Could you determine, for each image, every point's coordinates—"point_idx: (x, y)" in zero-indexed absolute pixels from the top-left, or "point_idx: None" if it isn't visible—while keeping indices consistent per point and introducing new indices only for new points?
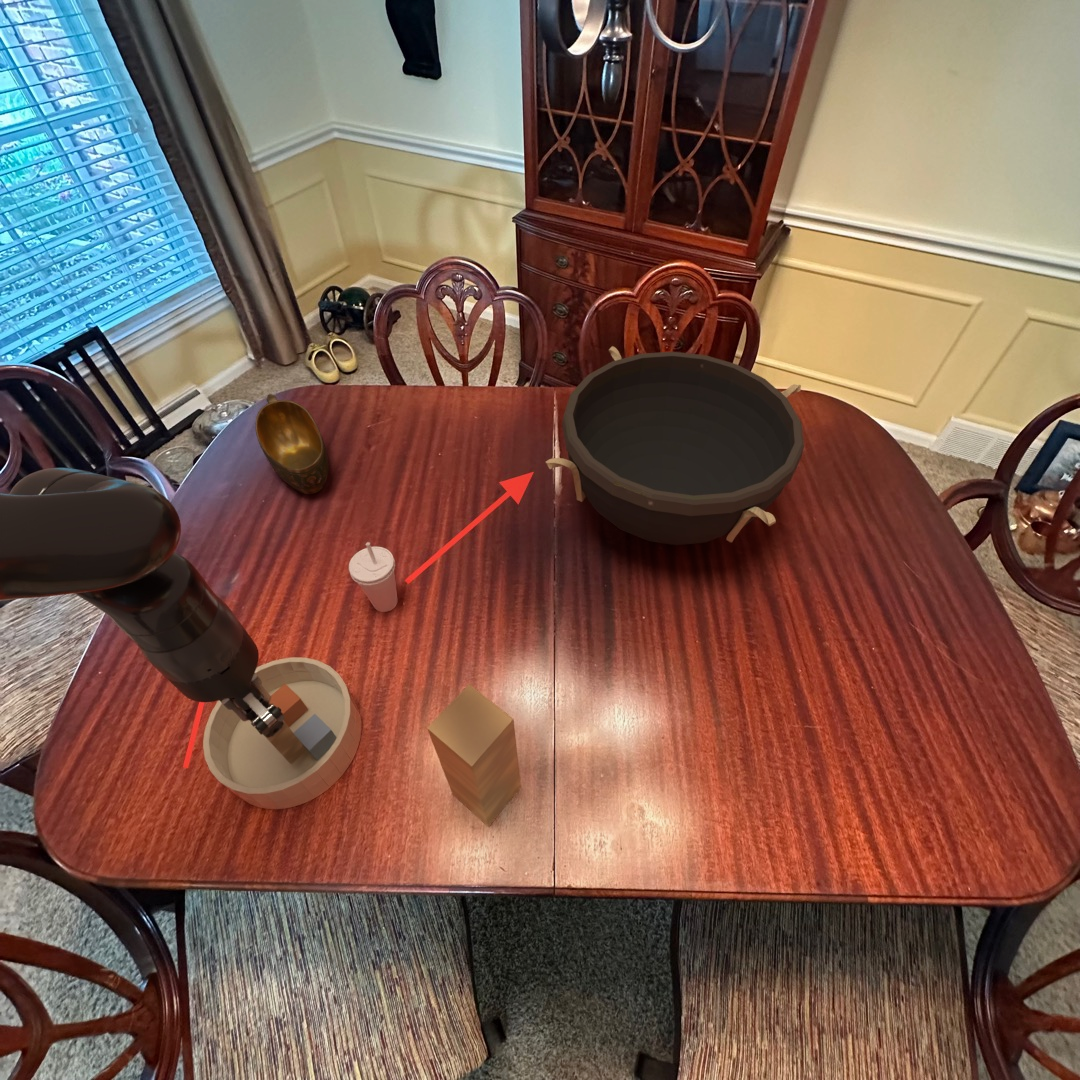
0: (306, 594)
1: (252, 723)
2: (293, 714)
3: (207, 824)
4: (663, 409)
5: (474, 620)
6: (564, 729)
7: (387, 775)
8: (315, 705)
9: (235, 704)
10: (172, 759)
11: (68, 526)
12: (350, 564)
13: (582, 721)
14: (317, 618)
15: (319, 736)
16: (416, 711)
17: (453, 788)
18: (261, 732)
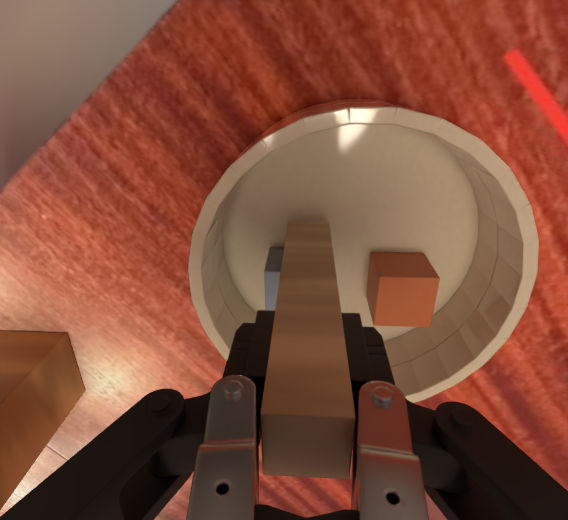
0: (556, 421)
1: (232, 396)
2: (371, 285)
3: (351, 9)
4: None
5: (266, 503)
6: (50, 458)
7: (161, 296)
8: (360, 308)
9: (359, 404)
10: (558, 40)
11: None
12: None
13: (45, 474)
14: (497, 403)
15: (272, 299)
16: None
17: (24, 365)
18: (111, 441)
